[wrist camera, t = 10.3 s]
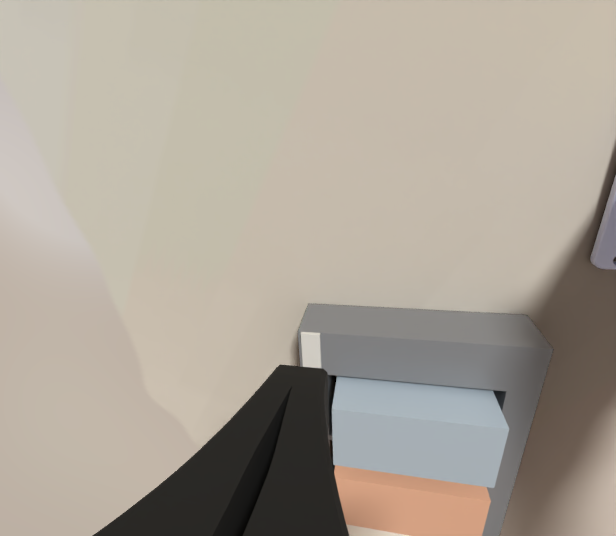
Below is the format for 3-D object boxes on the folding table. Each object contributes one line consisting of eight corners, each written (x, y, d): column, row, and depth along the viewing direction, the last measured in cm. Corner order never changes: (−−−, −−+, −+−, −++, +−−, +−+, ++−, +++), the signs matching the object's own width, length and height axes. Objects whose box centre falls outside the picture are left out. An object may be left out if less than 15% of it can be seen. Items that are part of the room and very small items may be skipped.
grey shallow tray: (527, 314, 18) (555, 351, 15) (473, 538, 26) (485, 590, 23) (308, 303, 20) (297, 333, 17) (319, 512, 28) (313, 556, 25)
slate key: (484, 372, 18) (509, 429, 15) (474, 425, 20) (494, 488, 17) (339, 359, 20) (331, 409, 16) (340, 410, 21) (333, 464, 18)
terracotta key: (472, 437, 20) (490, 501, 17) (463, 481, 22) (478, 547, 18) (340, 421, 22) (333, 477, 18) (341, 463, 23) (334, 522, 20)
